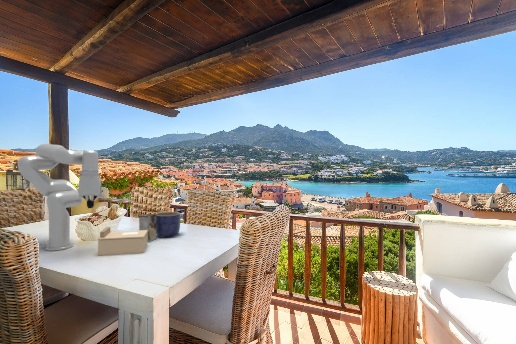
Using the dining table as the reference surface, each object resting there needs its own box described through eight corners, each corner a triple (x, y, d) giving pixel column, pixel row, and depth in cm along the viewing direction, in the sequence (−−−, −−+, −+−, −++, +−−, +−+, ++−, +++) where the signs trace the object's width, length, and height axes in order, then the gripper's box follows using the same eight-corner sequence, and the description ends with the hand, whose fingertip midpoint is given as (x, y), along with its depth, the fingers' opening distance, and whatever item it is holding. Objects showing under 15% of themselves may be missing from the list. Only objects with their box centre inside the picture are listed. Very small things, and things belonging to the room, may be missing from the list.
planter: (170, 239, 174) (170, 216, 174) (148, 237, 180) (148, 214, 179) (184, 233, 190) (185, 212, 190) (164, 231, 195) (165, 210, 195)
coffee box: (147, 238, 178) (147, 213, 177) (156, 238, 176) (156, 214, 176) (138, 242, 169) (138, 216, 168) (148, 242, 167) (148, 216, 167)
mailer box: (98, 255, 143) (98, 240, 142) (106, 247, 157) (106, 233, 157) (143, 252, 148) (143, 238, 148) (147, 245, 163) (147, 231, 162)
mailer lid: (97, 239, 142) (97, 232, 142) (105, 232, 157) (105, 226, 157) (143, 237, 148) (143, 230, 148) (147, 231, 163) (147, 224, 163)
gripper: (71, 174, 142) (71, 209, 142) (103, 174, 146) (103, 208, 146) (77, 173, 149) (77, 207, 149) (107, 173, 153) (107, 206, 153)
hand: (90, 207), depth 148 cm, fingers closed
